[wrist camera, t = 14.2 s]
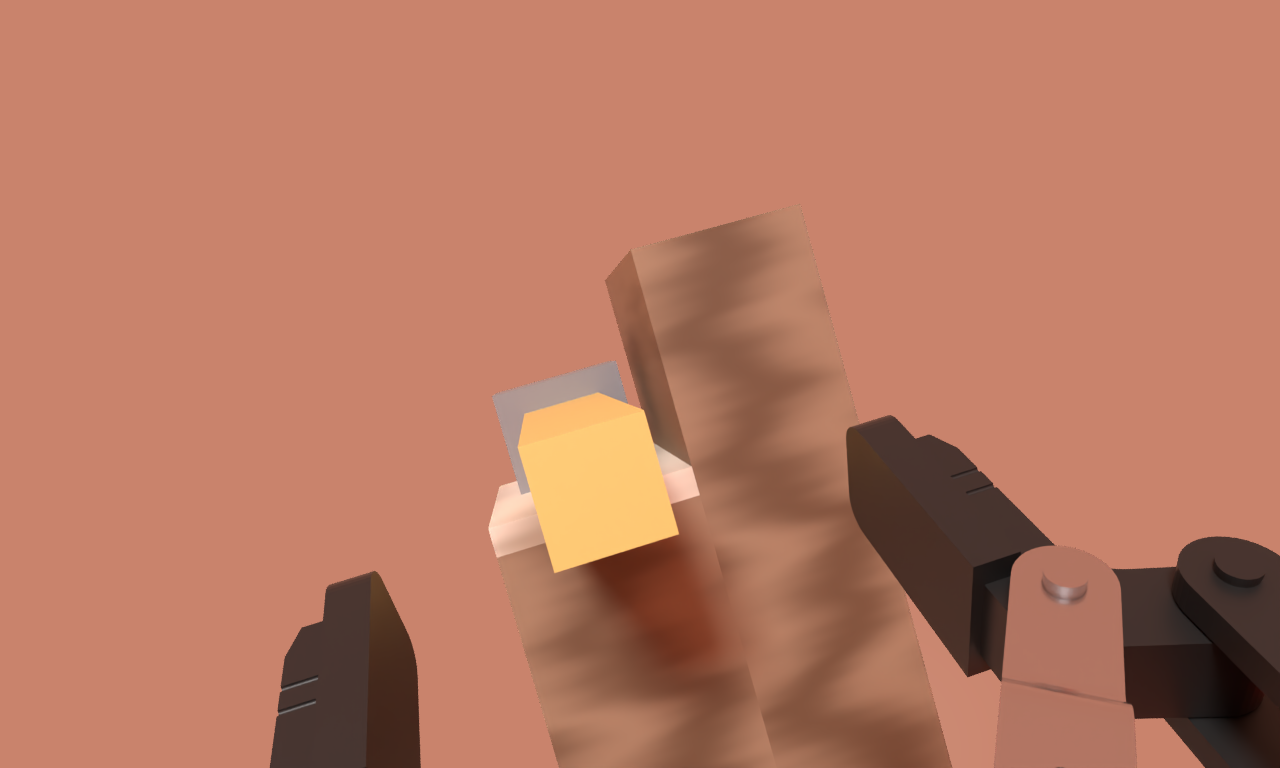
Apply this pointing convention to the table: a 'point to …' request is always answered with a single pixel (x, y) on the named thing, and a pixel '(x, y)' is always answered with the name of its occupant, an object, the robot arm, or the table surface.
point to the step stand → (728, 541)
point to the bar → (586, 465)
